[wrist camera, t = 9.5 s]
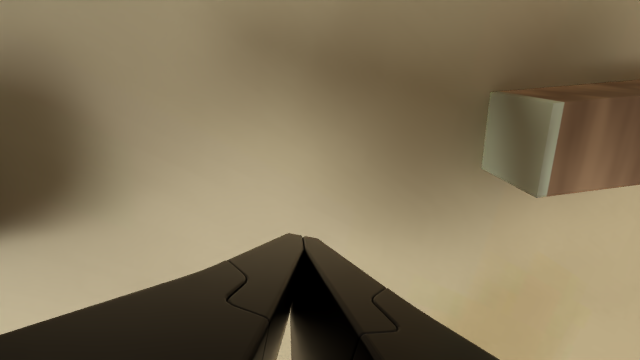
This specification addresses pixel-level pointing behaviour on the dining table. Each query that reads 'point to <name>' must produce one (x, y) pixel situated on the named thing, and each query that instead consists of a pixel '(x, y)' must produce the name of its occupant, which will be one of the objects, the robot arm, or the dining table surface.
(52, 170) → the dining table surface
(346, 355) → the robot arm
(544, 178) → the walnut block
